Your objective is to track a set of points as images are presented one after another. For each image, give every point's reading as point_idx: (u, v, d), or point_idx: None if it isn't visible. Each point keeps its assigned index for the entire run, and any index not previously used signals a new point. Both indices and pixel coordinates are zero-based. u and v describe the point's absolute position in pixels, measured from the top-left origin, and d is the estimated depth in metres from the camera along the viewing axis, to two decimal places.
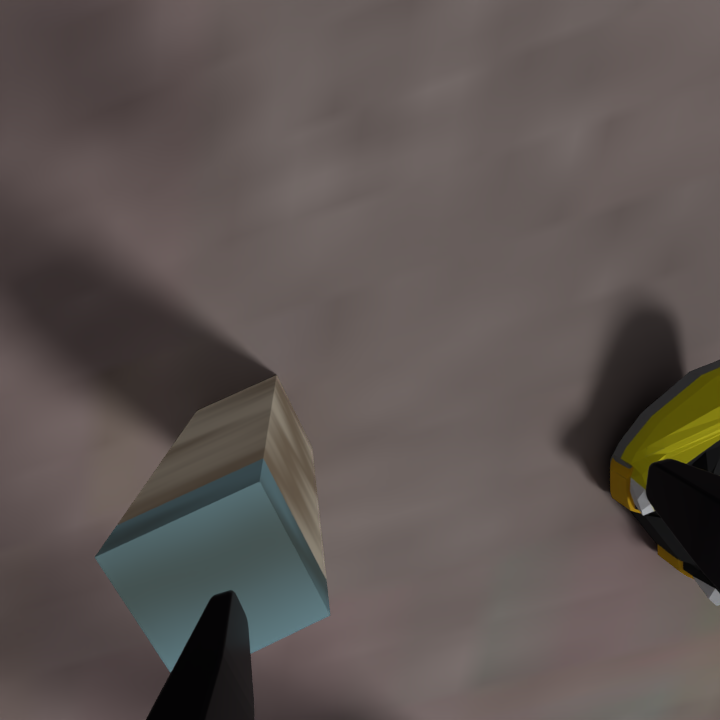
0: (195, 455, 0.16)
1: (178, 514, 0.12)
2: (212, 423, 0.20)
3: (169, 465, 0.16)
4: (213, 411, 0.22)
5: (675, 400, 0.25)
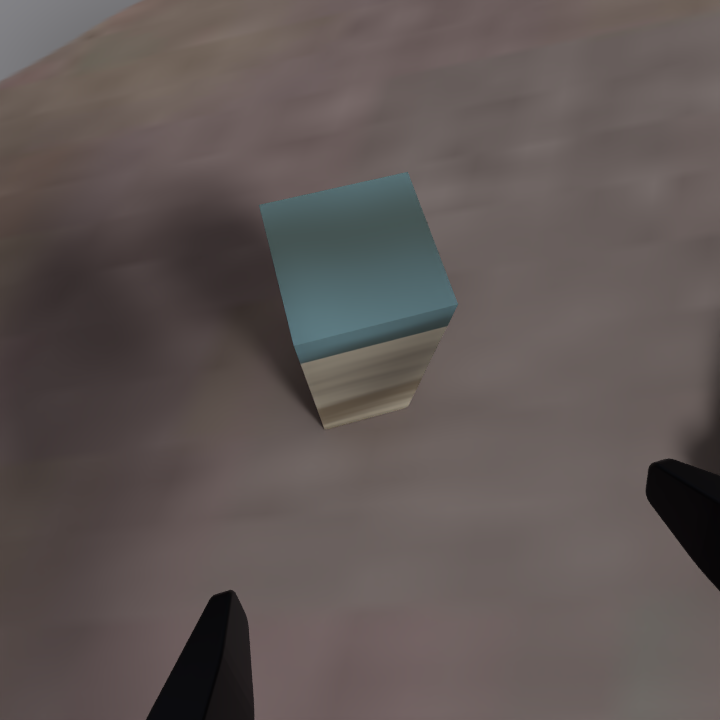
0: None
1: None
2: None
3: None
4: None
5: None
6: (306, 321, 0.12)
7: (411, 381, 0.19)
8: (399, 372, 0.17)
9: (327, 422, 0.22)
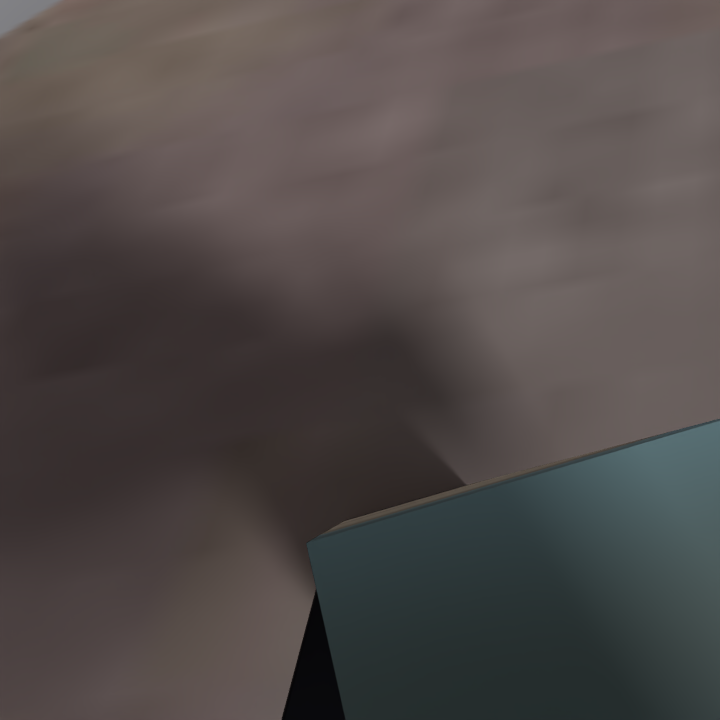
0: (419, 502, 0.08)
1: (535, 474, 0.04)
2: (401, 505, 0.12)
3: (364, 518, 0.09)
4: (382, 510, 0.14)
5: None
6: None
7: None
8: None
9: None
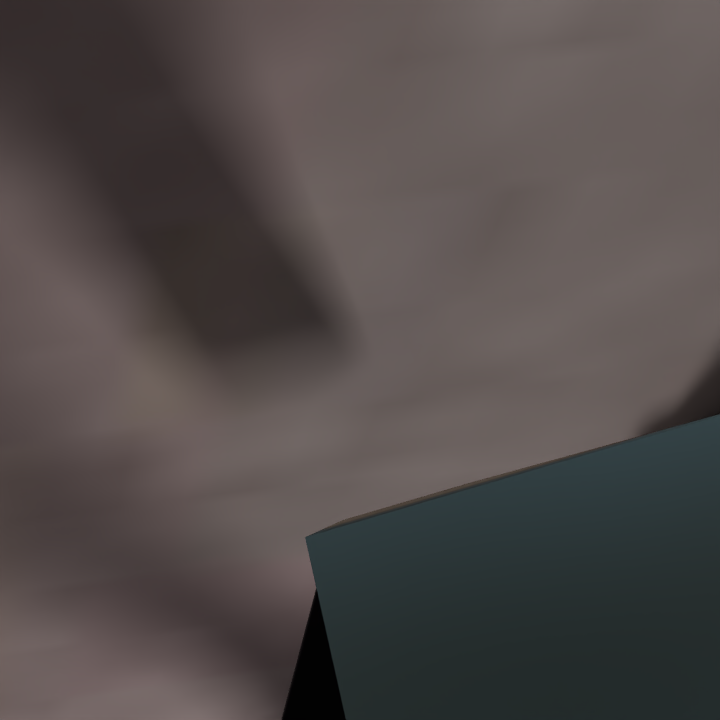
0: None
1: (532, 470, 0.04)
2: None
3: (364, 515, 0.09)
4: (382, 509, 0.14)
5: None
6: None
7: None
8: None
9: None
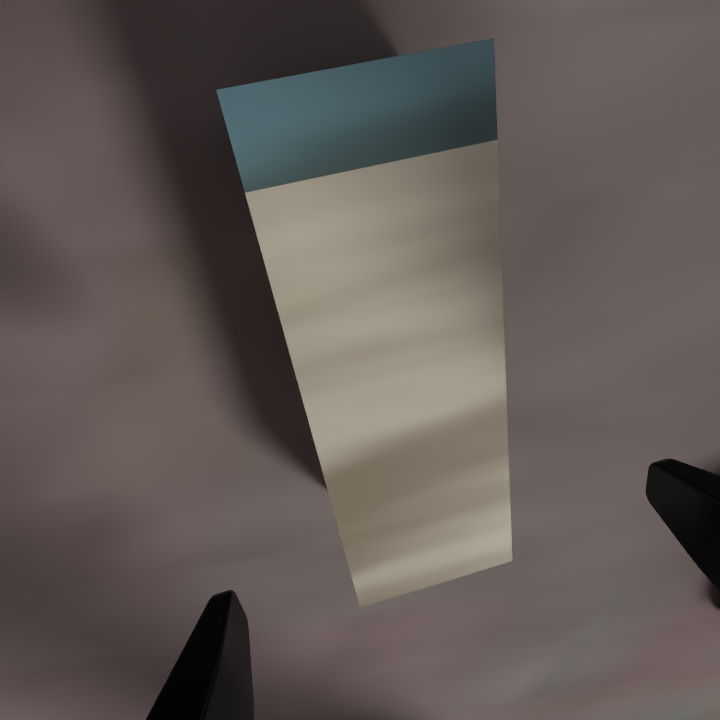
0: None
1: None
2: None
3: None
4: None
5: None
6: None
7: (489, 409, 0.11)
8: (454, 346, 0.10)
9: (357, 563, 0.12)
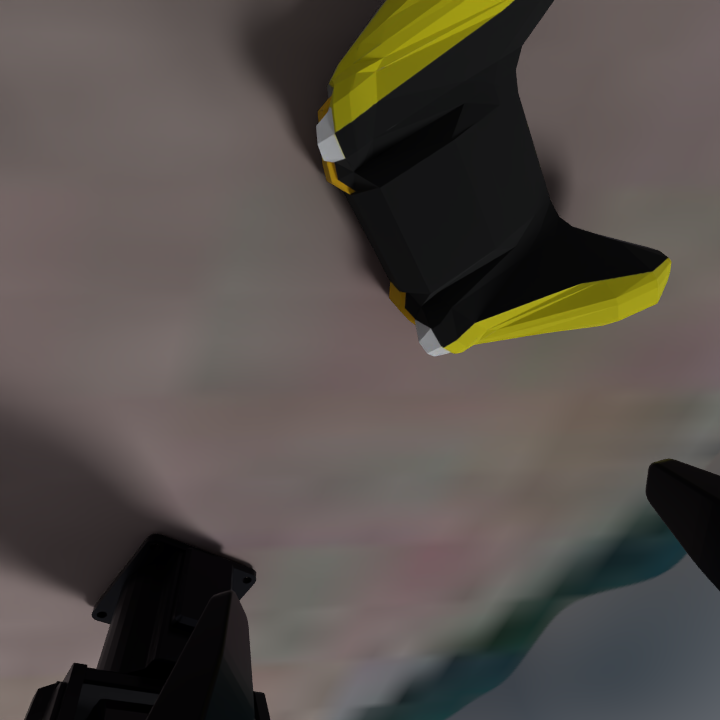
0: None
1: None
2: None
3: None
4: None
5: None
6: None
7: None
8: None
9: None
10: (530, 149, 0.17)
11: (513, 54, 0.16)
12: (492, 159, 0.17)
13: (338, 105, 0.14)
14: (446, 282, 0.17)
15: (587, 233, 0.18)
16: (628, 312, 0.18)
